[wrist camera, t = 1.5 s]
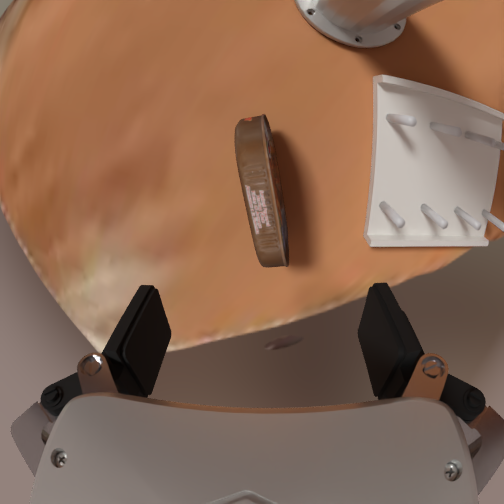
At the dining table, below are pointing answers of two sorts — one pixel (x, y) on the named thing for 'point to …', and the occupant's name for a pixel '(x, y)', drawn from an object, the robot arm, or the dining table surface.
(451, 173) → the dish rack
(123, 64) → the dining table surface
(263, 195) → the tin
